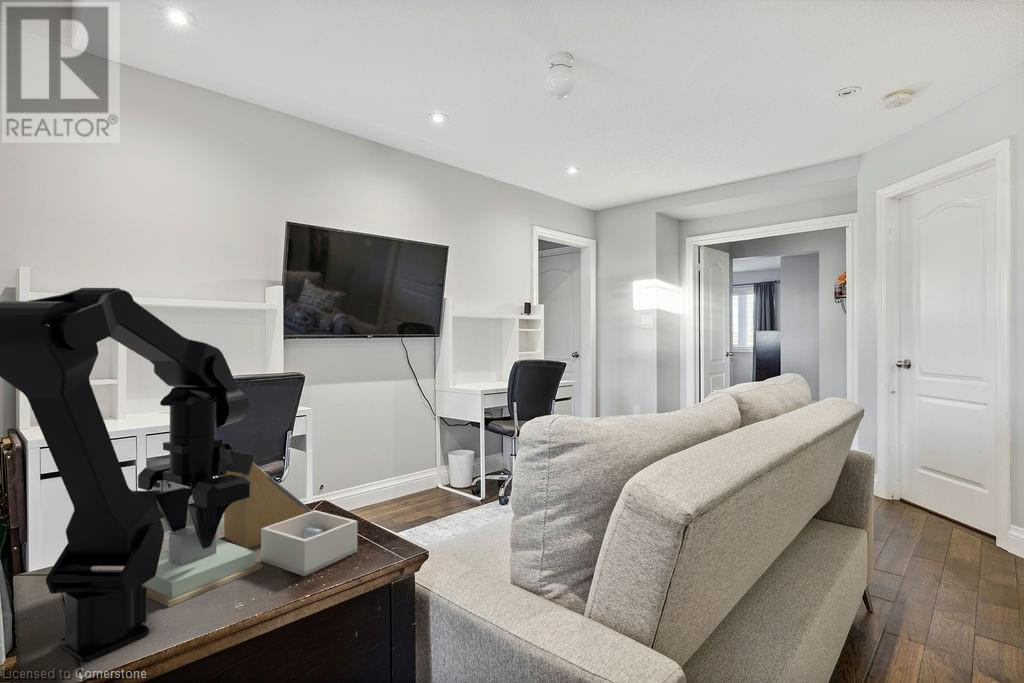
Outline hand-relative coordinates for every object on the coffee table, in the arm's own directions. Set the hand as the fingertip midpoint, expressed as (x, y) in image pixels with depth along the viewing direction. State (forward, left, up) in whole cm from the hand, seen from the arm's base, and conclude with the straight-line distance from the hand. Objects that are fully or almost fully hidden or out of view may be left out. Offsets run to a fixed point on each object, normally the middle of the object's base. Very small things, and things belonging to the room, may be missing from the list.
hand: (192, 542), depth 75 cm
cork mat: (0, 0, -5) cm, 5 cm away
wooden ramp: (+18, +5, -5) cm, 19 cm away
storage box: (+13, -9, -5) cm, 16 cm away
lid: (0, 0, -4) cm, 4 cm away
